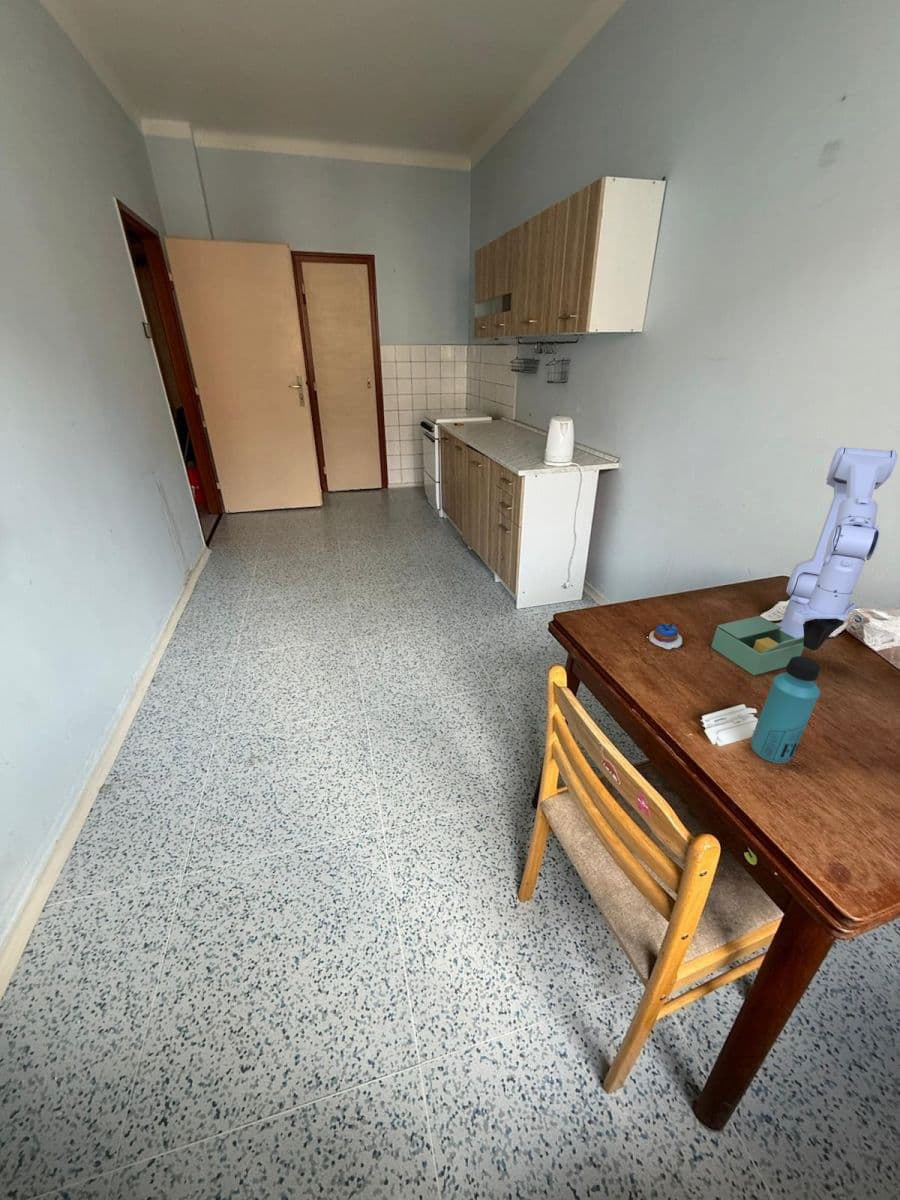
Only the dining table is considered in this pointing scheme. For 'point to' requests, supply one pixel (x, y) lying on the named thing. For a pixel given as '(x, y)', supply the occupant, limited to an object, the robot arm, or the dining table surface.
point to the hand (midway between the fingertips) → (810, 647)
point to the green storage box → (741, 639)
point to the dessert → (666, 636)
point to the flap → (786, 644)
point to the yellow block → (764, 644)
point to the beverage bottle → (786, 711)
